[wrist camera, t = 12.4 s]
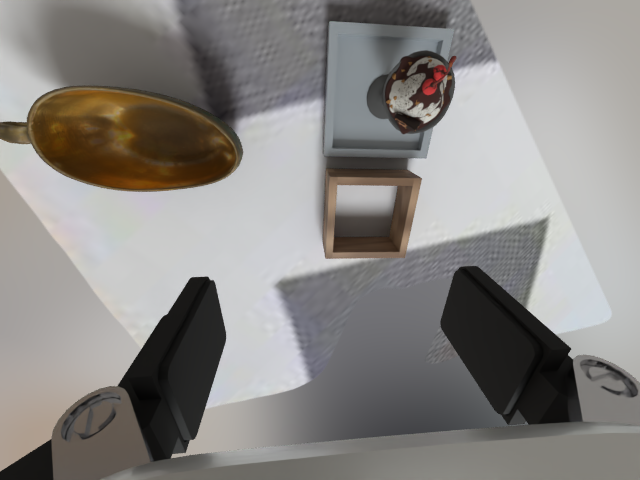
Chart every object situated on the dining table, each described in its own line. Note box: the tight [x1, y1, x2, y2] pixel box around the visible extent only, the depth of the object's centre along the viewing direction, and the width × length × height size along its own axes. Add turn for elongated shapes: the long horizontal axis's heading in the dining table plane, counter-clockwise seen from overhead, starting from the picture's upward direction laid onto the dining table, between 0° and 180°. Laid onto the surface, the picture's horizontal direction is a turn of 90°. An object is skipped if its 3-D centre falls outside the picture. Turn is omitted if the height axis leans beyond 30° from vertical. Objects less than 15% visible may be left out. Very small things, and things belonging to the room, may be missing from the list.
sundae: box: [367, 50, 456, 134], centre depth 26 cm, size 7×7×15 cm
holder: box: [323, 168, 422, 259], centre depth 38 cm, size 12×12×5 cm
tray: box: [323, 21, 454, 158], centre depth 32 cm, size 14×14×2 cm
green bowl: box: [0, 86, 243, 192], centre depth 29 cm, size 13×20×10 cm, turn 56°
